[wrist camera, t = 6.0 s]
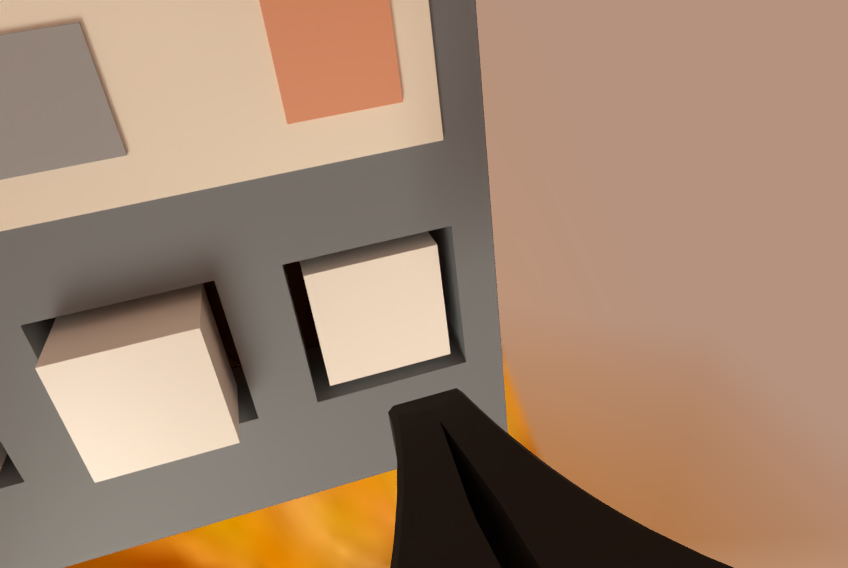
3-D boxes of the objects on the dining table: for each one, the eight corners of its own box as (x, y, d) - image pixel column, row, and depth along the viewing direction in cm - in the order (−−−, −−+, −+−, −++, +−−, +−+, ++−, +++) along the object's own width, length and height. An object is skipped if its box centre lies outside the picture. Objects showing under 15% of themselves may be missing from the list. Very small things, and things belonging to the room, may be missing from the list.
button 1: (318, 339, 18) (330, 385, 17) (293, 238, 17) (303, 276, 15) (427, 312, 19) (450, 353, 17) (413, 211, 17) (437, 244, 15)
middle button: (108, 420, 16) (94, 482, 15) (57, 313, 15) (34, 368, 13) (237, 386, 17) (239, 442, 15) (201, 279, 15) (199, 328, 13)
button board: (-100, 546, 18) (-146, 635, 16) (-524, 4, 11) (-715, 23, 9) (478, 385, 21) (510, 440, 19) (428, -121, 14) (469, -131, 12)
